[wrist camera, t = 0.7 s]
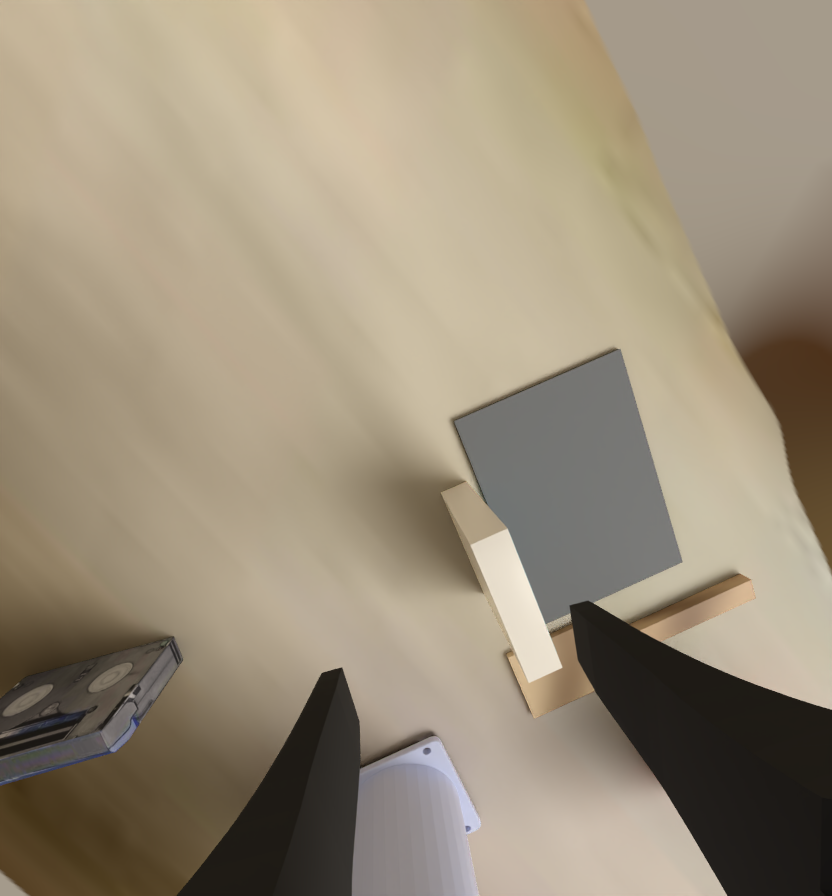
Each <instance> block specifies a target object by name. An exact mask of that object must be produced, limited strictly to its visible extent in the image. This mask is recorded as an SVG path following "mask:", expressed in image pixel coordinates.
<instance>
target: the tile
mask: <svg viewBox="0 0 832 896" xmlns="http://www.w3.org/2000/svg"><path fill="white" fill-rule="evenodd" d="M441 495H442V497H443V499H444V502H445V504H446V506H447V509H448V511H449V513H450V516H451V518H452V520H453V523H454V525H455V527H456V530H457V532H458V535H459V537H460V539H461V542H462V544H463V546H464V549H465V551H466V553H467V556H468V558H469V560H470V563H471V565H472V567H473V570H474V572H475V574H476V577H477V579H478V581H479V584H480V586H481V588H482V591H483V593H484V595H485V597H486V599H487V601H488V603H489V605H490V607H491V609H492V611H493V613H494V615H495V617H496V619H497V621H498V623H499V625H500V627H501V629H502V631H503V633H504V635H505V637H506V639H507V641H508V643H509V645H510V647H511V649H512V651H513V653H514V655H515V657H516V659H517V661H518V663H519V665H520V667H521V669H522V671H523V673H524V675H525V677H526V679H527V681H528V683H530V682H532V681H534V680H537V679H539V678H541V677H543V676H545V675H548V674H550V673H552V672H554V671H556V670H559V669H561V668H562V665H561V662H560V660H559V657H558V655H557V652H556V649H555V647H554V644H553V642H552V639H551V636H550V634H549V631H548V629H547V626H546V624H545V621H544V619H543V616H542V614H541V611H540V609H539V606H538V604H537V601H536V598H535V596H534V593H533V591H532V588H531V586H530V583H529V581H528V578H527V576H526V573H525V571H524V568H523V566H522V563H521V560H520V558H519V555H518V553H517V550H516V548H515V545H514V543H513V540H512V538H511V535H510V533H509V531H508V528H507V527H506V526H505V525H504V524H503V523H502V522H501V520H500V519H499V518H498V517H497V516H496V515H495V514H494V512H493V511H492V510H491V509H490V508H489V507H488V506H487V504H486V503H485V502H484V501H483V500H482V499H481V498H480V496H479V495H478V494H477V493H476V492H475V491H474V489H473V488H472V487H471V486H470V485H469V484H468V483H467V481H466V482H464V483H461V484H459V485H457V486H455V487H452V488H450V489H448V490H445V491H443V492H441Z"/></svg>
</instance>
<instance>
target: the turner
mask: <svg viewBox="0 0 832 896" xmlns="http://www.w3.org/2000/svg"><path fill="white" fill-rule="evenodd" d="M755 598H756V597H755V593H754V589H753V585H752V581H751V579H749V578H747V577H745V576H743V575H741V574H739V575H736V576H734V577H732V578H730V579H728V580H725V581H723V582H721V583H719V584H717V585H714V586H712V587H710V588H708V589H706V590H703V591H701V592H699V593H697V594H695V595H692V596H690V597H688V598H686V599H684V600H681V601H679V602H677V603H675V604H673V605H670V606H668V607H666V608H664V609H662V610H659V611H657V612H655V613H653V614H651V615H649V616H646V617H644V618H642V619H640V620H638V621H635V622H633V623H631V624H629V625H631V626H633V627H634V628H636V629H638V630H640V631H641V632H643V633H645V634H647V635H649V636H650V637H652V638H654V639H656V640H658V641H660V642H661V641H663V640H665V639H667V638H670V637H672V636H674V635H676V634H678V633H681V632H683V631H685V630H687V629H689V628H691V627H694V626H696V625H698V624H700V623H702V622H705V621H707V620H709V619H711V618H713V617H716V616H718V615H720V614H722V613H724V612H726V611H729V610H731V609H733V608H735V607H737V606H740V605H742V604H744V603H746V602H748V601H750V600H753V599H755ZM550 636H551V639H552V642H553V644H554V647H555V649H556V652H557V655H558V657H559V660H560V662H561V665H562V668H561V669H559V670H556V671H554V672H552V673H550V674H548V675H545V676H543V677H541V678H539V679H537V680H534V681H532V682H530V683H528V681H527V679H526V677H525V675H524V673H523V671H522V669H521V667H520V665H519V663H518V661H517V659H516V657H515V655H514V653H513V651H511V652H509V653H507V654H506V655H507V657H508V660H509V662H510V664H511V666H512V669H513V671H514V673H515V676H516V678H517V680H518V683H519V685H520V687H521V690H522V692H523V694H524V697H525V699H526V701H527V704H528V706H529V708H530V711H531V713H532V715H533V717H534V719H535V718H537V717H539V716H541V715H544V714H546V713H548V712H550V711H552V710H554V709H557V708H559V707H561V706H563V705H565V704H568V703H570V702H572V701H574V700H576V699H578V698H581V697H583V696H585V695H587V694H589V693H591V692H594V691H595V690H594V688H593V687H592V685H591V683H590V681H589V680H588V678H587V676H586V674H585V672H584V671H583V669H582V667H581V665H580V663H579V662H578V659H577V652H576V645H575V639H574V632H573V626H572V624H571V625H568V626H566V627H564V628H562V629H560V630H557V631H555V632H553V633H551V634H550Z"/></svg>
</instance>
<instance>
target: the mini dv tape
mask: <svg viewBox="0 0 832 896" xmlns="http://www.w3.org/2000/svg"><path fill="white" fill-rule="evenodd" d="M182 661H183V658H182V655H181V653H180V650H179V648H178V646H177V643H176V641H175V638H174V637H170V638H167V639H163V640H159V641H156V642H152V643H148V644H145V645H141V646H137V647H134V648H130V649H126V650H123V651H119V652H115V653H112V654H108V655H104V656H101V657H97V658H93V659H90V660H86V661H82V662H79V663H75V664H71V665H68V666H64V667H60V668H57V669H53V670H49V671H46V672H42V673H38V674H35V675H31V676H27V677H25V678H24V679H22V680H21V681H20V682H19V683H18V684H17V685H15V686H14V687H13V688H12V689H11V690H10V691H8V692H7V693H6V694H5V695H4V696H3V697H1V698H0V785H3V784H7V783H10V782H14V781H17V780H21V779H24V778H28V777H31V776H34V775H38V774H41V773H45V772H48V771H52V770H55V769H59V768H62V767H66V766H69V765H72V764H76V763H79V762H83V761H86V760H90V759H93V758H97V757H100V756H103V755H107V754H110V753H114V752H116V751H117V750H118V749H120V748H121V747H122V746H123V745H124V744H125V743H126V742H127V741H128V740H129V739H130V737H131V736H132V734H133V733H134V731H135V730H136V728H137V727H138V726H139V724H140V723H141V721H142V720H143V718H144V717H145V715H146V714H147V712H148V711H149V709H150V708H151V706H152V705H153V703H154V702H155V701H156V699H157V698H158V696H159V695H160V693H161V692H162V690H163V689H164V687H165V686H166V684H167V683H168V681H169V680H170V678H171V677H172V675H173V674H174V673H175V671H176V670H177V668H178V667H179V665H180V664H181V662H182Z"/></svg>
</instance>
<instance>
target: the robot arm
mask: <svg viewBox="0 0 832 896" xmlns="http://www.w3.org/2000/svg"><path fill="white" fill-rule="evenodd" d="M569 606H570V613H571V619H572V626H573V632H574V639H575V645H576V652H577V659H578V662H579V663H580V665H581V667H582V669H583V671H584V672H585V674H586V676H587V678H588V680H589V681H590V683H591V685H592V687H593V688H594V690H595V692H596V693H597V695H598V696H599V698H600V699H601V701H602V702H603V704H604V705H605V706H606V708H607V709H608V711H609V712H610V713H611V715H612V716H613V718H614V719H615V720H616V722H617V723H618V725H619V726H620V727H621V729H622V730H623V732H624V733H625V734H626V736H627V737H628V739H629V740H630V741H631V743H632V744H633V745H634V747H635V748H636V750H637V751H638V752H639V754H640V755H641V757H642V758H643V759H644V761H645V762H646V764H647V765H648V766H649V768H650V769H651V771H652V772H653V773H654V775H655V776H656V778H657V779H658V781H659V782H660V784H661V785H662V787H663V788H664V790H665V791H666V793H667V795H668V796H669V798H670V800H671V801H672V803H673V805H674V806H675V808H676V810H677V811H678V813H679V814H680V816H681V818H682V819H683V821H684V823H685V824H686V826H687V828H688V829H689V831H690V833H691V834H692V836H693V838H694V839H695V841H696V843H697V844H698V846H699V848H700V849H701V851H702V853H703V855H704V856H705V858H706V860H707V861H708V863H709V865H710V866H711V868H712V870H713V872H714V873H715V875H716V877H717V878H718V880H719V882H720V883H721V885H722V887H723V889H724V890H725V892H726V894H727V896H832V710H830V709H827V708H823V707H820V706H817V705H813V704H810V703H807V702H804V701H801V700H798V699H795V698H792V697H789V696H786V695H783V694H780V693H777V692H775V691H772V690H769V689H766V688H763V687H761V686H758V685H755V684H753V683H750V682H747V681H745V680H742V679H740V678H737V677H735V676H732V675H730V674H728V673H725V672H723V671H721V670H718V669H716V668H714V667H711V666H709V665H707V664H704V663H702V662H700V661H698V660H696V659H694V658H692V657H690V656H688V655H686V654H683V653H681V652H679V651H677V650H675V649H673V648H671V647H669V646H667V645H666V644H664V643H662V642H660V641H658V640H656V639H654V638H652V637H650V636H649V635H647V634H645V633H643V632H641V631H640V630H638V629H636V628H634V627H633V626H631V625H629V624H627V623H626V622H624V621H622V620H621V619H619V618H617V617H615V616H614V615H612V614H610V613H609V612H607V611H605V610H604V609H602V608H600V607H599V606H597V605H595V604H593V603H592V602H590V601H584V602H580V603H577V604H573V605H569ZM425 748H427V749H425ZM480 826H481V822H480V818H479V815H478V813H477V811H476V809H475V807H474V805H473V803H472V801H471V799H470V797H469V795H468V793H467V791H466V789H465V787H464V785H463V783H462V781H461V779H460V777H459V775H458V773H457V771H456V769H455V767H454V765H453V763H452V761H451V759H450V757H449V755H448V753H447V752H446V750H445V748H444V746H443V744H442V742H441V740H440V738H439V737H437V736H431V737H429V738H427V739H424V740H422V741H420V742H418V743H416V744H413V745H411V746H409V747H407V748H405V749H403V750H400V751H398V752H396V753H394V754H392V755H389V756H387V757H385V758H383V759H381V760H378V761H376V762H374V763H372V764H370V765H368V766H365V767H363V768H361V769H360V725H359V719H358V716H357V713H356V709H355V706H354V703H353V700H352V697H351V694H350V691H349V687H348V684H347V681H346V678H345V675H344V672H343V669H342V668H338V669H334V670H331V671H327V672H323V673H322V674H321V676H320V677H319V679H318V681H317V683H316V685H315V687H314V689H313V691H312V693H311V695H310V697H309V699H308V701H307V703H306V705H305V707H304V709H303V711H302V713H301V715H300V717H299V718H298V720H297V722H296V724H295V726H294V728H293V729H292V731H291V733H290V735H289V737H288V739H287V740H286V742H285V744H284V746H283V748H282V749H281V751H280V753H279V754H278V756H277V758H276V759H275V761H274V763H273V764H272V766H271V768H270V769H269V771H268V773H267V774H266V776H265V778H264V779H263V781H262V782H261V784H260V785H259V787H258V789H257V790H256V792H255V793H254V795H253V796H252V798H251V799H250V801H249V802H248V804H247V805H246V807H245V808H244V809H243V811H242V812H241V814H240V815H239V817H238V818H237V820H236V821H235V822H234V824H233V825H232V826H231V828H230V829H229V830H228V832H227V833H226V834H225V836H224V837H223V838H222V840H221V841H220V842H219V843H218V845H217V846H216V847H215V849H214V850H213V851H212V853H211V854H210V855H209V856H208V858H207V859H206V860H205V862H204V863H203V864H202V865H201V867H200V868H199V869H198V870H197V872H196V873H195V874H194V875H193V877H192V878H191V879H190V880H189V881H188V883H187V884H186V885H185V886H184V887H183V889H182V890H181V891H180V892H179V893H178V895H177V896H479V893H478V888H477V883H476V878H475V873H474V868H473V863H472V858H471V853H470V848H469V843H468V838H467V834H469V833H472V832H474V831H476V830H477V829H479V827H480Z"/></svg>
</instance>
